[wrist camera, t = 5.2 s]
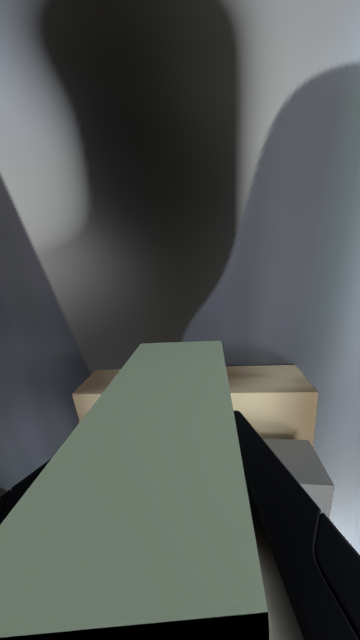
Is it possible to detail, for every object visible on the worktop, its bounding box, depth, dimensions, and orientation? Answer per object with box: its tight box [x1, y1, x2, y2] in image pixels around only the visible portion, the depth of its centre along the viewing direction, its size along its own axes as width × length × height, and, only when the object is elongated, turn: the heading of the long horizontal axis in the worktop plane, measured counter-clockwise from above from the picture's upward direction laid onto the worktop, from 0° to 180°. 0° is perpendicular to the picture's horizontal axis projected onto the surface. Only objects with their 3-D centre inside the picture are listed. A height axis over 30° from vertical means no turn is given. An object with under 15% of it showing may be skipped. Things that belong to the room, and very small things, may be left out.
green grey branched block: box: [0, 341, 334, 640], centre depth 6 cm, size 11×7×8 cm, turn 95°
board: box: [72, 365, 319, 447], centre depth 13 cm, size 12×12×2 cm
